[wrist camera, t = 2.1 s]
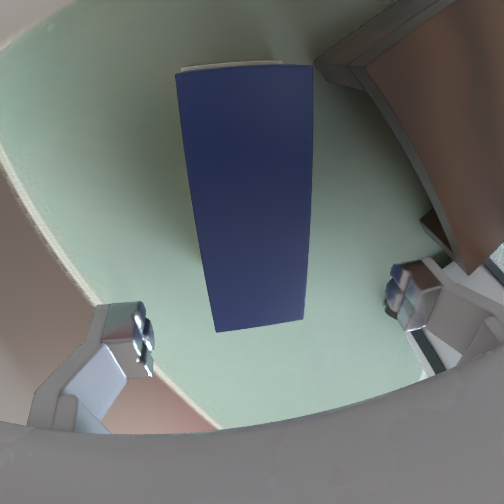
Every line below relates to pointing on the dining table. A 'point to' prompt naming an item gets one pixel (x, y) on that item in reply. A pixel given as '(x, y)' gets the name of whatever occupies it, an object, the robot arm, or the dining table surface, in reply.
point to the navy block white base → (250, 185)
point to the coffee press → (434, 349)
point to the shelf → (439, 109)
